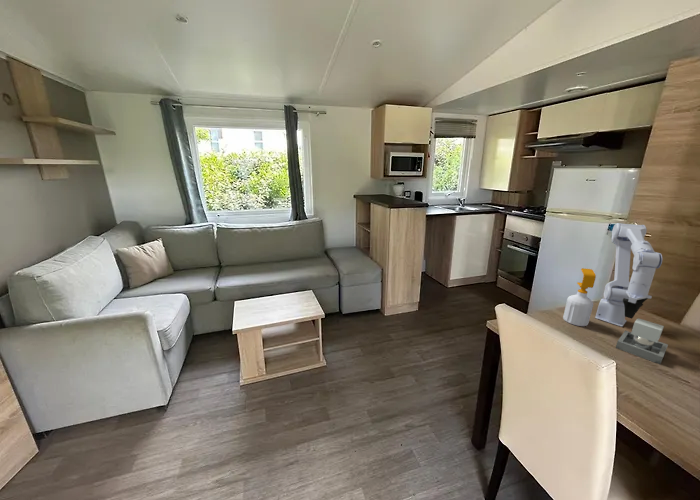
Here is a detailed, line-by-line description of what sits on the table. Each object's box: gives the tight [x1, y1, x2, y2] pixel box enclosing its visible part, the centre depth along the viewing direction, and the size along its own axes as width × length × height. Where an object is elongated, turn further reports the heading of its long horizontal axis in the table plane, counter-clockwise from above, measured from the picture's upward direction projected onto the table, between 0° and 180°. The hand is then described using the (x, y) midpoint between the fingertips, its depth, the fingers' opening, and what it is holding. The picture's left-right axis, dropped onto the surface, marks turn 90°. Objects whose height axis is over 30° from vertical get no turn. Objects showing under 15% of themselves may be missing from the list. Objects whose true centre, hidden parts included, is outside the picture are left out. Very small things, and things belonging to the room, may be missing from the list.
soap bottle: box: [562, 267, 597, 327], centre depth 125 cm, size 9×9×25 cm
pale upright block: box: [630, 317, 665, 343], centre depth 107 cm, size 7×5×5 cm
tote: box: [615, 330, 669, 365], centre depth 109 cm, size 12×12×3 cm
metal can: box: [631, 335, 654, 351], centre depth 108 cm, size 5×5×5 cm
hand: (630, 314), depth 114 cm, fingers open, 7 cm apart
